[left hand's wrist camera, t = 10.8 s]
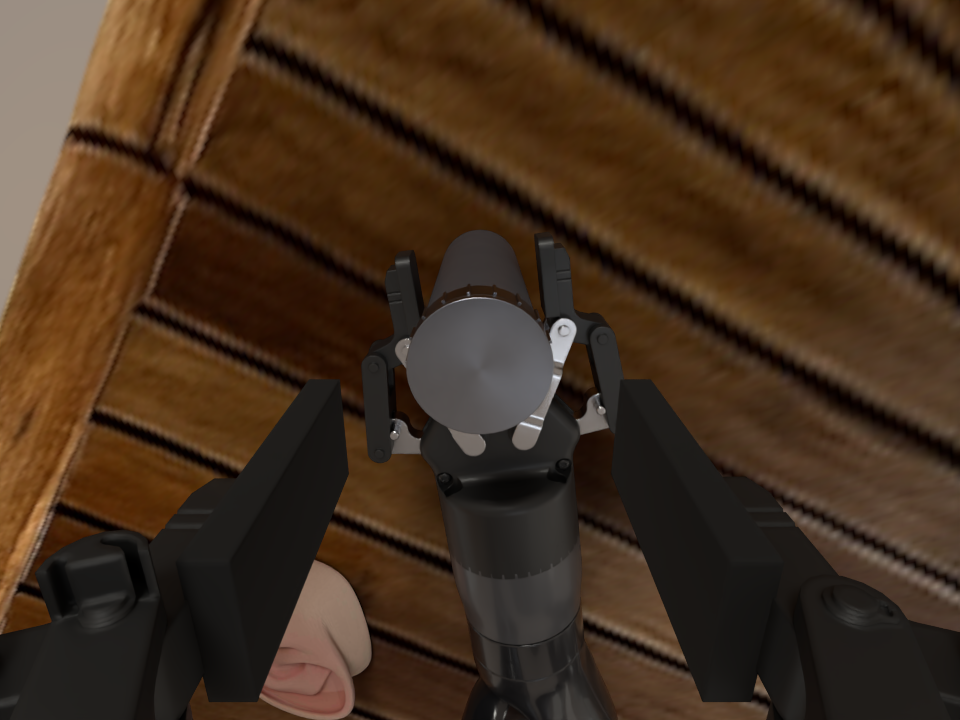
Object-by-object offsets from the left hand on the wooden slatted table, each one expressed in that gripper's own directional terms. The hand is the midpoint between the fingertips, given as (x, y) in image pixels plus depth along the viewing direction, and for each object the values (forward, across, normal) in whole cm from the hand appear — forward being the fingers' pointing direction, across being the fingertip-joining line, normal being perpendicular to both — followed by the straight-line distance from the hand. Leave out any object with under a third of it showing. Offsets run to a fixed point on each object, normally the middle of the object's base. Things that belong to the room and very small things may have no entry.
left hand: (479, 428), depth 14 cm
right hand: (+14, 0, -2) cm, 14 cm away
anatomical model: (+20, +14, +27) cm, 37 cm away
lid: (+4, 0, 0) cm, 4 cm away
